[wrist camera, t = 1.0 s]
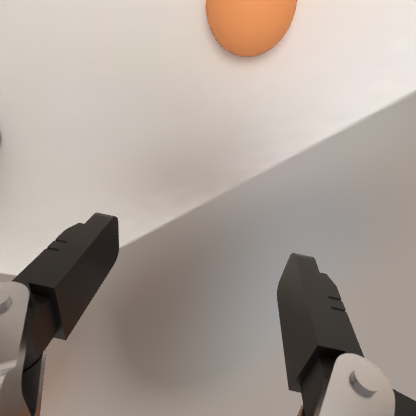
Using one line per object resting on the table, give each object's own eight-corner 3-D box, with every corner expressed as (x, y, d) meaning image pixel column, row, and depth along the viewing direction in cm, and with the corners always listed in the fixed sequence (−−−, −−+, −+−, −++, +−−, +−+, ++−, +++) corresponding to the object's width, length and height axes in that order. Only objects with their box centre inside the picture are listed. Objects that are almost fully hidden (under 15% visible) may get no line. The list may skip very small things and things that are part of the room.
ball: (229, 70, 21) (224, 74, 16) (197, -11, 19) (181, -33, 14) (299, 32, 19) (318, 24, 14) (274, -61, 17) (286, -108, 12)
